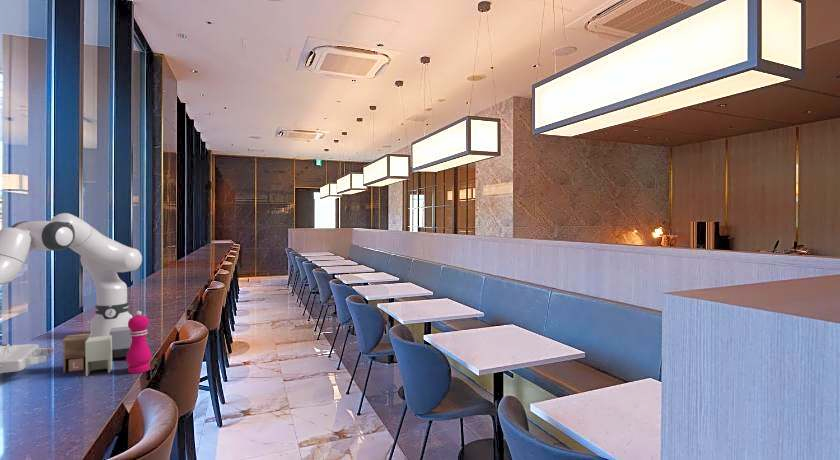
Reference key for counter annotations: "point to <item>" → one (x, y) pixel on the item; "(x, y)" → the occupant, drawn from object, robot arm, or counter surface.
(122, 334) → the cover
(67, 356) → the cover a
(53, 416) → the counter surface
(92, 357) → the cover
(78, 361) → the letter cube
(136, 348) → the pepper mill
